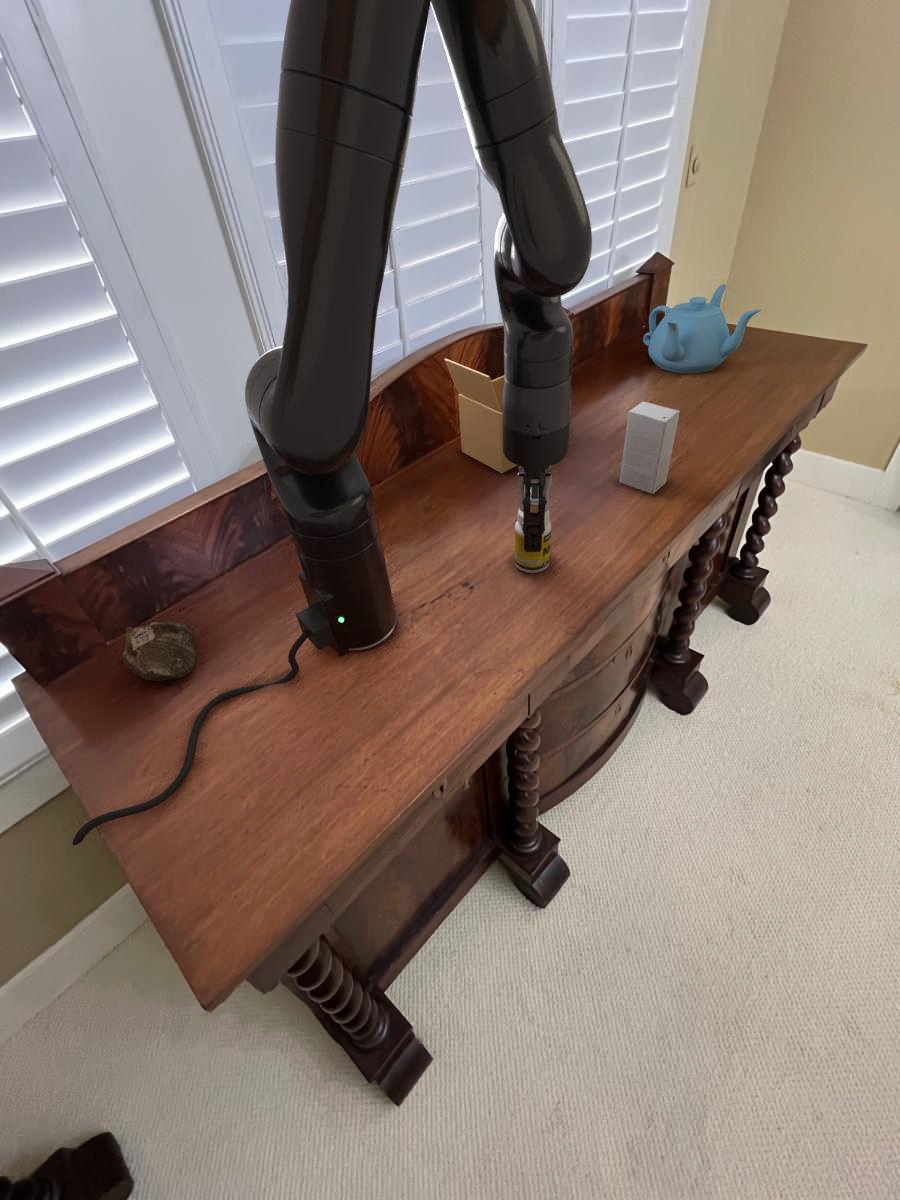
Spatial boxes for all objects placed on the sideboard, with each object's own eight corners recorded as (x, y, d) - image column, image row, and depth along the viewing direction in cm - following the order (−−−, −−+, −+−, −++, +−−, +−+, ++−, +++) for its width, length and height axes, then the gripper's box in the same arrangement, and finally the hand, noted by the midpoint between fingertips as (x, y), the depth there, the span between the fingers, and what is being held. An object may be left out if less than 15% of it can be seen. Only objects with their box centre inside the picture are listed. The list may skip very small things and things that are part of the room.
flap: (501, 409, 89) (499, 411, 89) (458, 390, 95) (457, 391, 95) (489, 376, 84) (488, 377, 84) (445, 358, 90) (444, 359, 90)
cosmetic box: (666, 483, 91) (681, 410, 83) (652, 495, 89) (666, 422, 81) (631, 471, 94) (643, 400, 86) (617, 482, 92) (627, 410, 84)
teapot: (748, 372, 117) (766, 307, 109) (657, 383, 117) (669, 318, 108) (711, 342, 130) (725, 281, 121) (629, 351, 129) (637, 291, 121)
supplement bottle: (548, 575, 77) (550, 523, 72) (512, 572, 78) (512, 521, 72) (550, 552, 81) (553, 501, 75) (516, 550, 82) (517, 499, 76)
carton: (501, 473, 96) (500, 373, 85) (461, 451, 103) (455, 356, 91) (558, 444, 102) (564, 347, 91) (517, 425, 108) (518, 332, 97)
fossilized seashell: (118, 631, 72) (119, 699, 66) (127, 595, 68) (128, 664, 62) (184, 634, 76) (190, 698, 70) (196, 600, 72) (203, 665, 67)
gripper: (504, 388, 70) (506, 506, 82) (499, 447, 60) (501, 572, 72) (568, 386, 69) (560, 506, 81) (573, 446, 59) (563, 573, 71)
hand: (532, 536), depth 76 cm, fingers closed on supplement bottle, 4 cm apart
